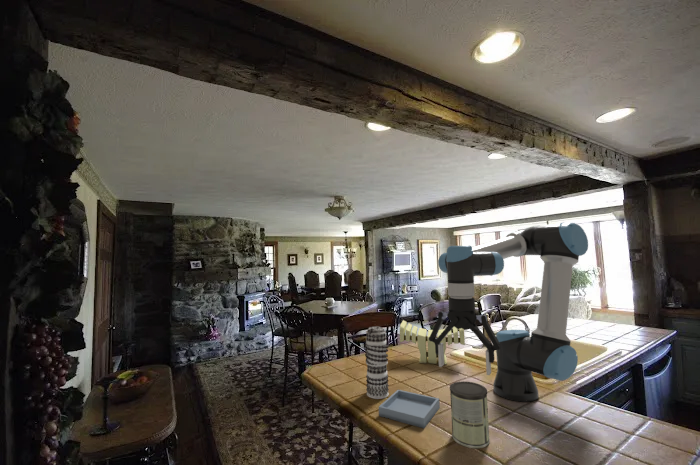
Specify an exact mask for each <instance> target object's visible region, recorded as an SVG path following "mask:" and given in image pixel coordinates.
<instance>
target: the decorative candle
mask: <svg viewBox="0 0 700 465" xmlns="http://www.w3.org/2000/svg"><path fill="white" fill-rule="evenodd" d="M386 333H387V331H386V330H385V329H384V328H383V327H382V326H369V327H368V328H367V330H366V331H365V335H366V338H365V342H364V349H365V350H364V352H365V354H364V356H365V364H366V367H367V368H366V369H367V370H366V376H365V377H366V381H365V382H366V384H365V385H366V396H367V397H369V398H371V399H375V400H379V399H385V398H387V397H389V395H390V393H389V375H388V367H387V365H388V363H389V362H388V361H389V358H388V357H389V355H388V354H387V353H388V352H389V349H388V348H389V345H388V344H387V336H386Z"/></svg>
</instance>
